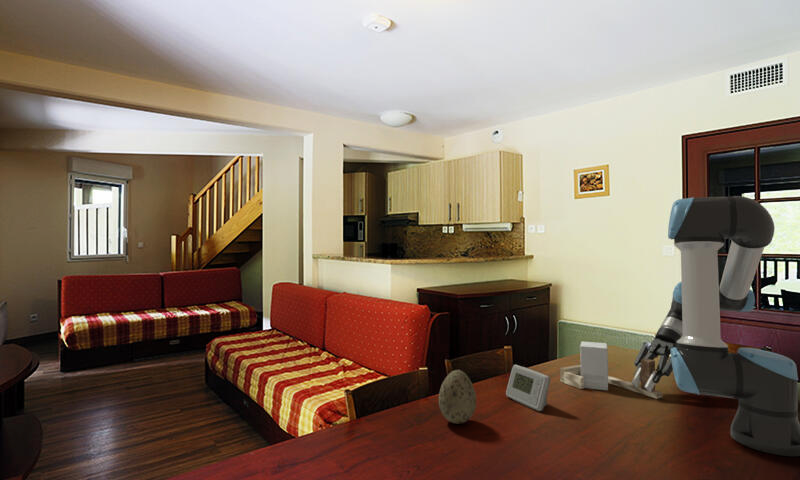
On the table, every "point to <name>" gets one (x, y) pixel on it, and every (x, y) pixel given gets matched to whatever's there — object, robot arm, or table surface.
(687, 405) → the table surface
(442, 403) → the decorative egg
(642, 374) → the hooked slat
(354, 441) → the table surface
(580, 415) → the table surface
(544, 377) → the digital clock
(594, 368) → the supplement box
